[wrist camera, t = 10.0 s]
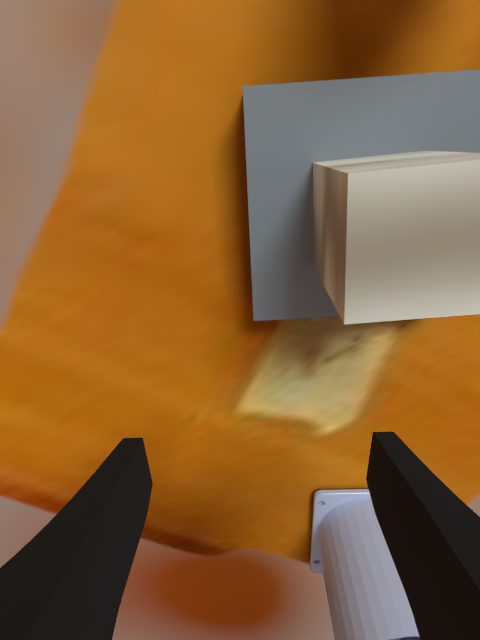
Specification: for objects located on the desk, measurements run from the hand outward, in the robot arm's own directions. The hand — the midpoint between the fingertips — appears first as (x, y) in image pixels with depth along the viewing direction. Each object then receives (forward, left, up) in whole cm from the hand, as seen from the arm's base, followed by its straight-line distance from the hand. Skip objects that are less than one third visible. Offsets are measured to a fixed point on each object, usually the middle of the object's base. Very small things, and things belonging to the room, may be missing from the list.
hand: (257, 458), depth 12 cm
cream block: (+6, -5, -8) cm, 11 cm away
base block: (+6, -5, -11) cm, 13 cm away
